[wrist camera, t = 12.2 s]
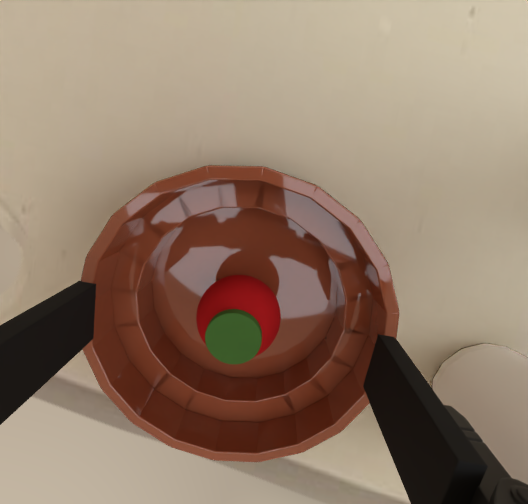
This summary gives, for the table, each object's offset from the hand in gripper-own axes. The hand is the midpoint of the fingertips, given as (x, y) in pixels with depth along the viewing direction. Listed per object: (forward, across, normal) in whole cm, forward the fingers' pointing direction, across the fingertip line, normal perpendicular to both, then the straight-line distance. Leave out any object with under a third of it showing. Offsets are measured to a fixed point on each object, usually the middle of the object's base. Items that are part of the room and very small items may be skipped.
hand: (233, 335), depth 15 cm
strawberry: (+5, 0, 0) cm, 5 cm away
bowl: (+6, 0, 0) cm, 6 cm away
